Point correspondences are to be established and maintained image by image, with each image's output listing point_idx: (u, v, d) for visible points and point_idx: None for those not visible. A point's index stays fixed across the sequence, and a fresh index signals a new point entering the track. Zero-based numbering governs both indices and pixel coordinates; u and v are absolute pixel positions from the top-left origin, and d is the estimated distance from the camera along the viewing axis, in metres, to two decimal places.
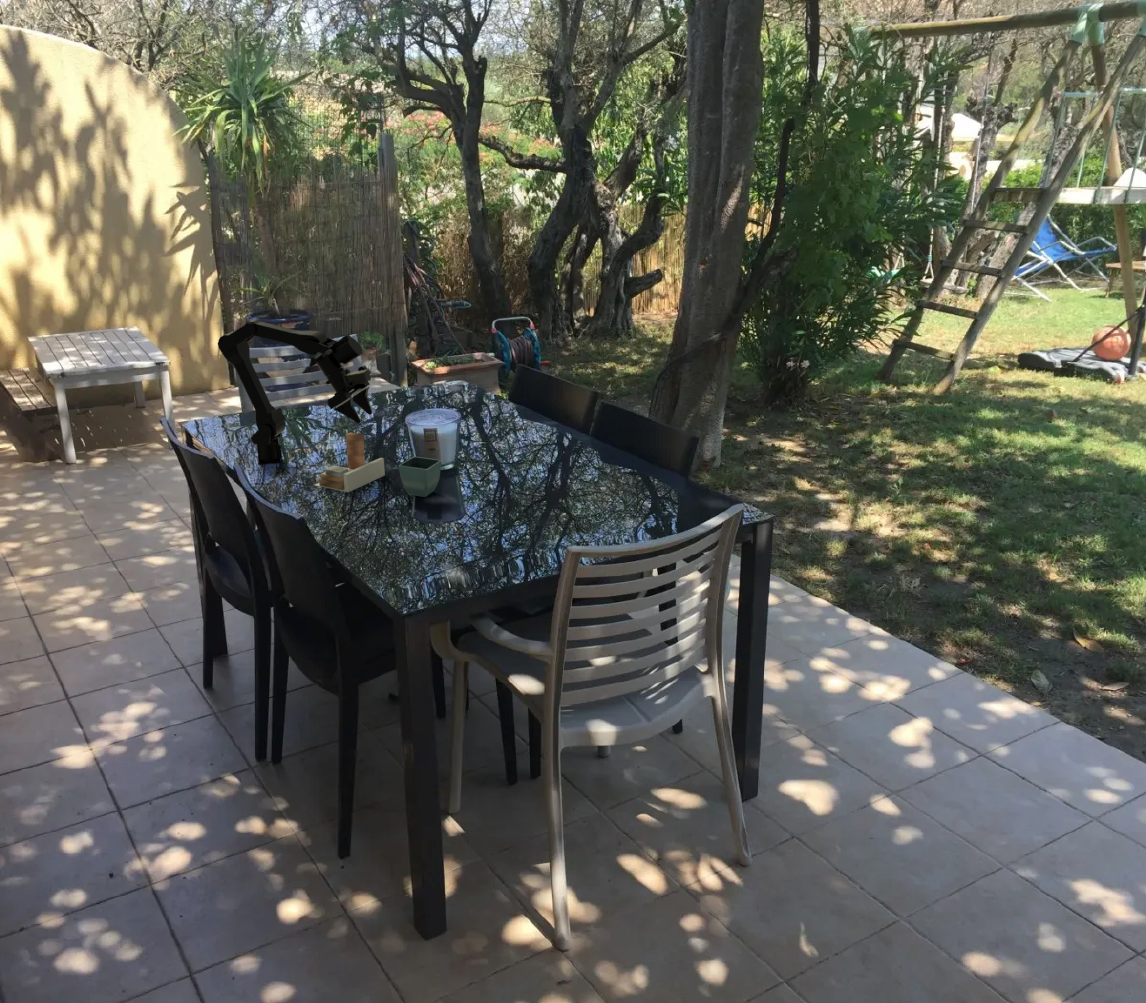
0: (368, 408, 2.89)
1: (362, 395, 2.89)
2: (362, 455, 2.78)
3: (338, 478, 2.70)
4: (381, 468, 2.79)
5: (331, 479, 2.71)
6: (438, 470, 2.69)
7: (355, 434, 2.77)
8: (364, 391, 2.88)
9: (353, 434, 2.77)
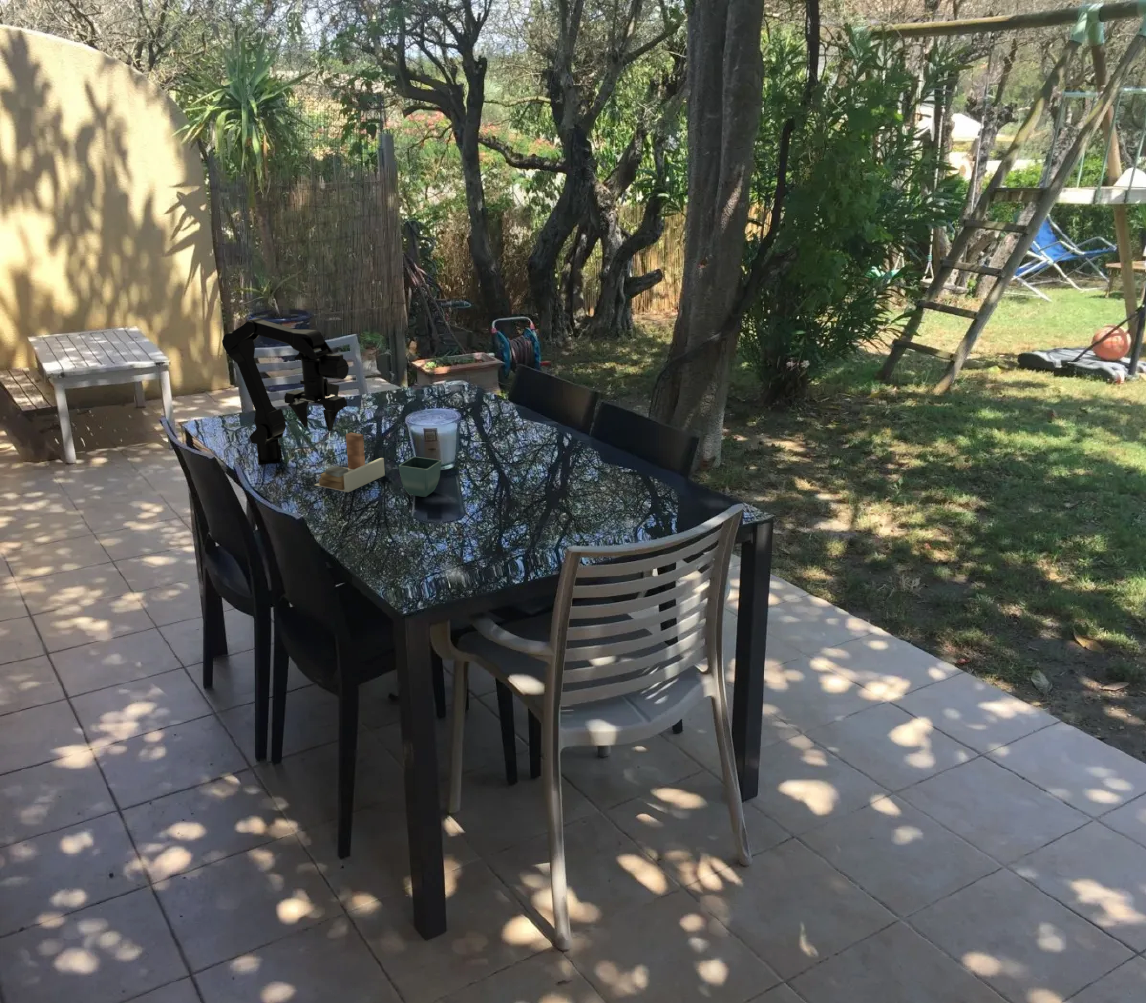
0: (306, 420, 2.87)
1: (304, 406, 2.86)
2: (362, 455, 2.78)
3: (338, 478, 2.70)
4: (381, 468, 2.79)
5: (331, 479, 2.71)
6: (438, 470, 2.69)
7: (355, 434, 2.77)
8: (307, 403, 2.87)
9: (353, 434, 2.77)
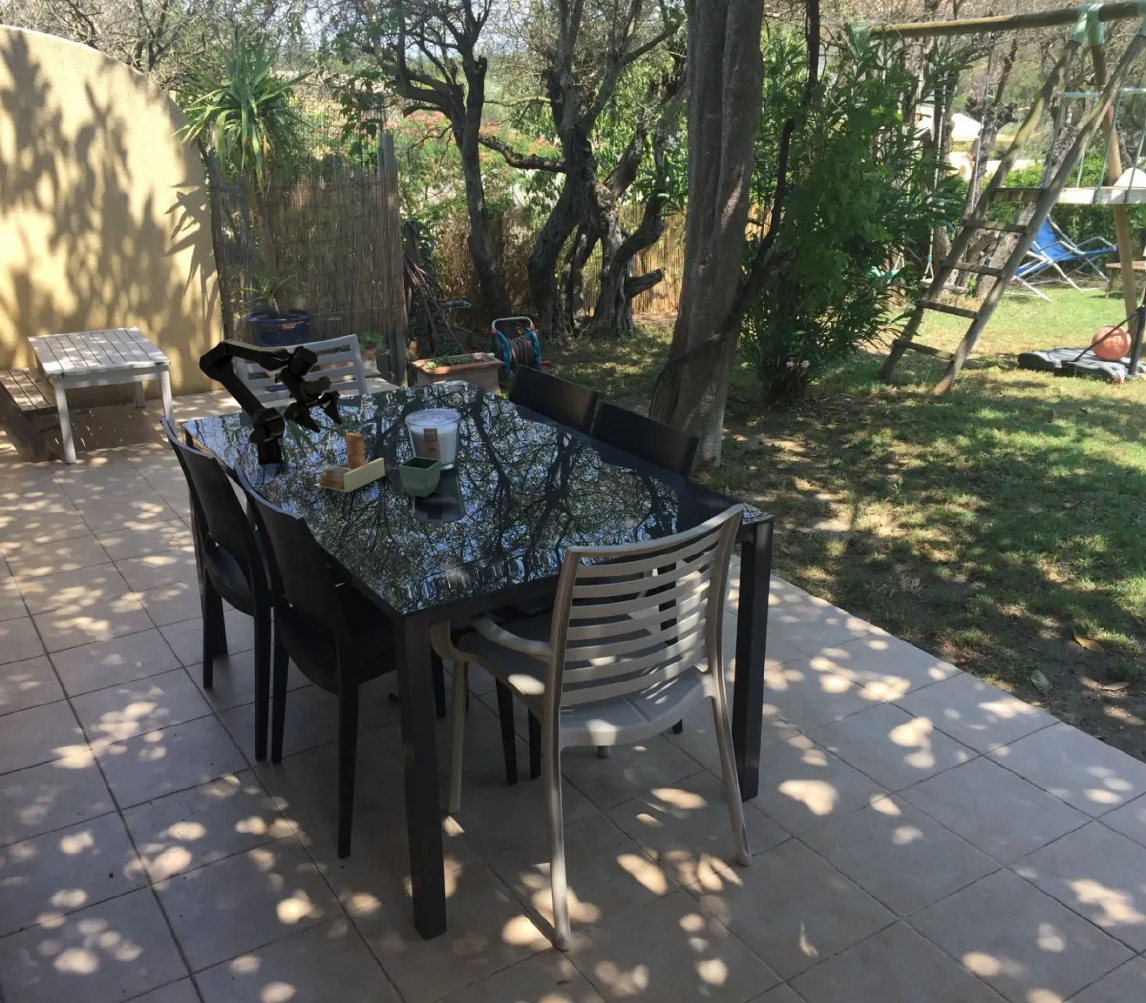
0: (337, 419, 2.84)
1: (331, 406, 2.84)
2: (362, 455, 2.78)
3: (338, 478, 2.70)
4: (381, 468, 2.79)
5: (331, 479, 2.71)
6: (438, 470, 2.69)
7: (355, 434, 2.77)
8: (332, 402, 2.84)
9: (353, 434, 2.77)
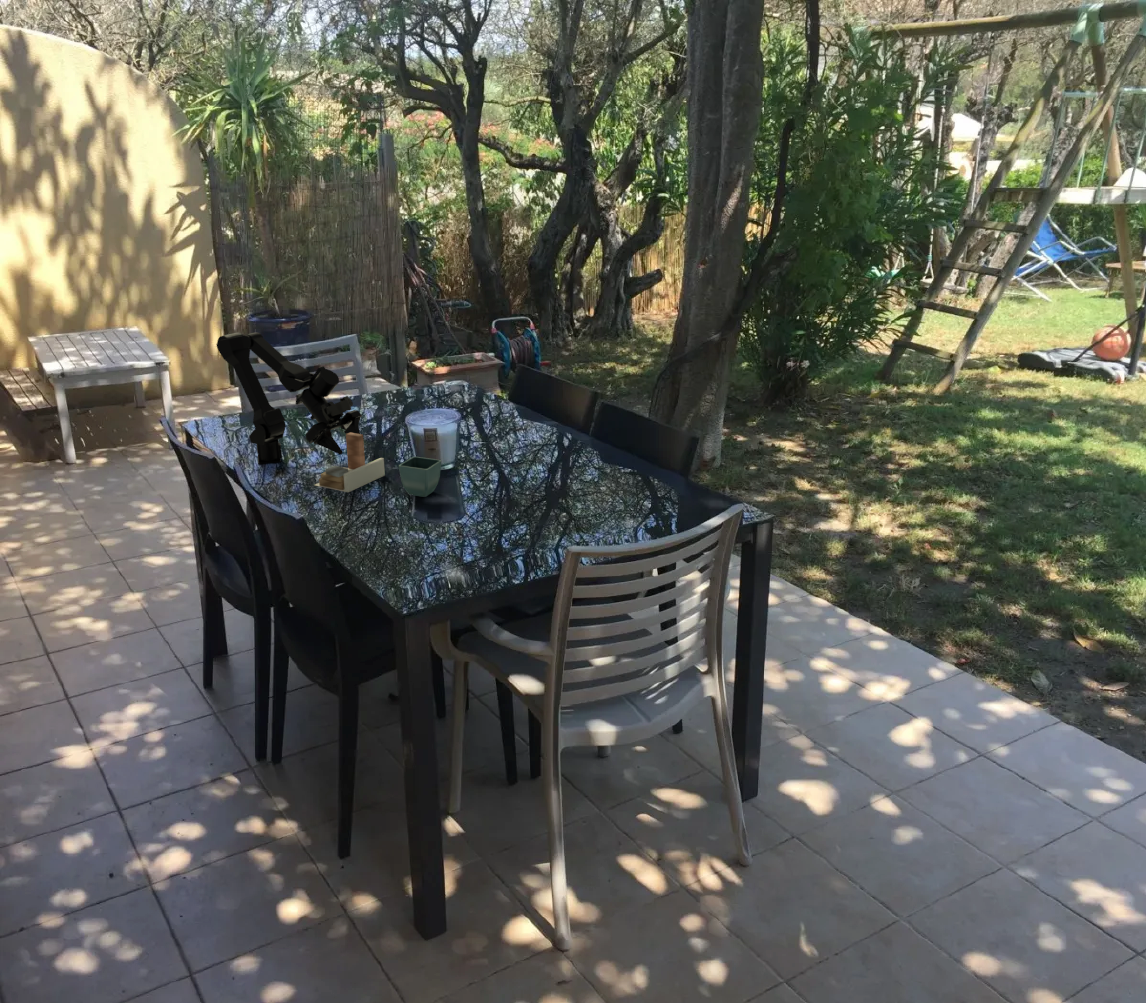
0: None
1: (352, 427, 2.83)
2: (362, 455, 2.78)
3: (338, 478, 2.70)
4: (381, 468, 2.79)
5: (331, 479, 2.71)
6: (438, 470, 2.69)
7: (355, 434, 2.77)
8: (353, 422, 2.83)
9: (353, 434, 2.77)
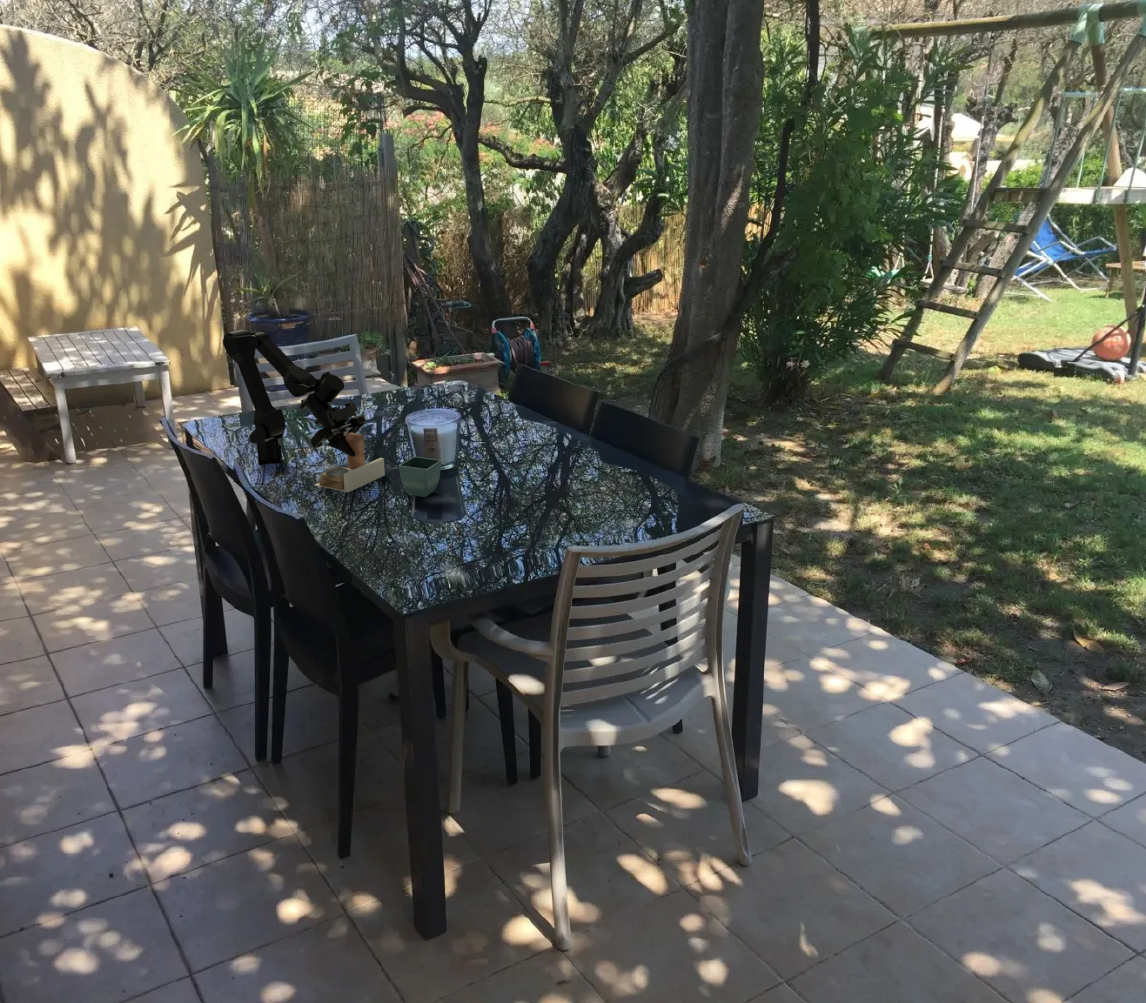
0: None
1: None
2: (362, 455, 2.78)
3: (338, 478, 2.70)
4: (381, 468, 2.79)
5: (331, 479, 2.71)
6: (438, 470, 2.69)
7: (355, 434, 2.77)
8: (350, 431, 2.79)
9: (353, 434, 2.77)
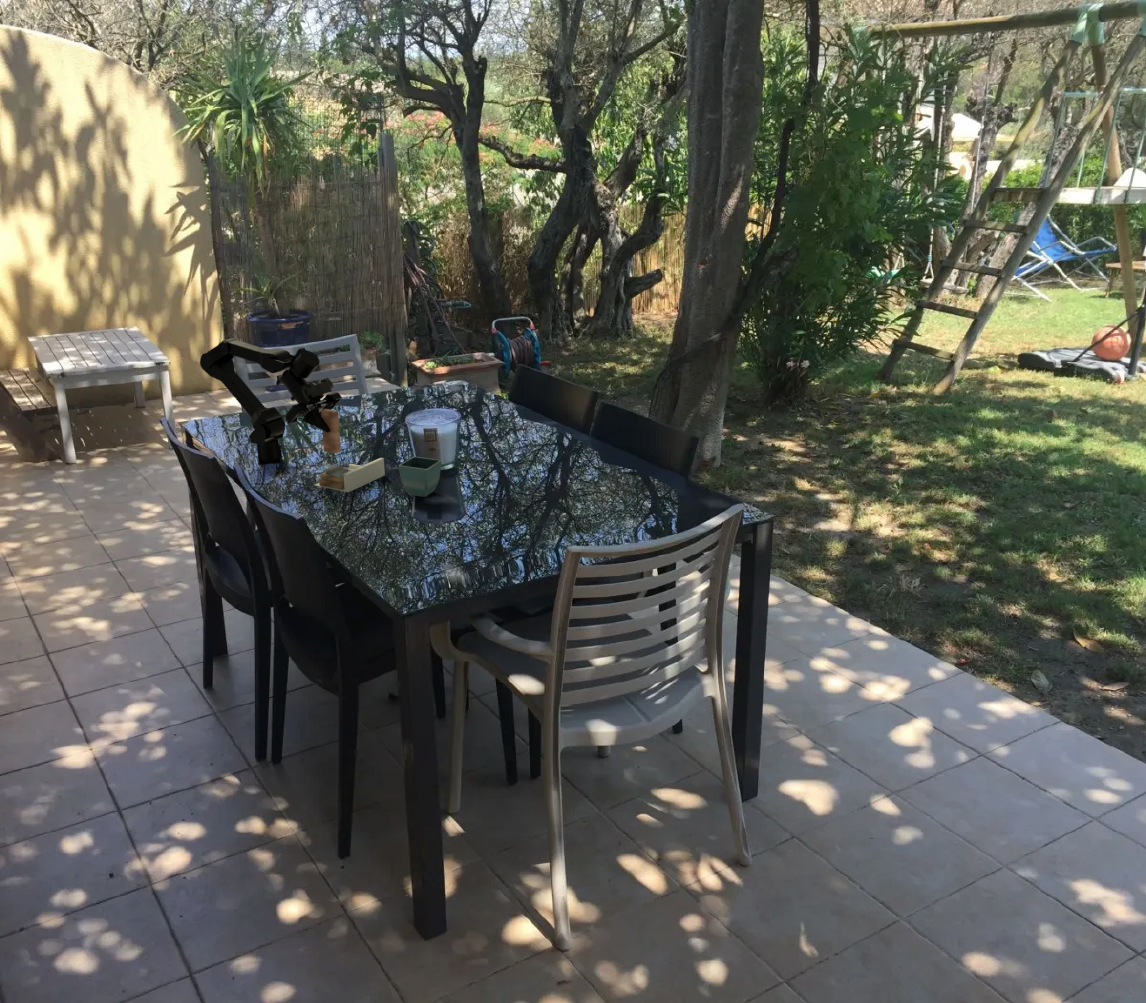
0: None
1: None
2: (337, 432, 2.80)
3: (338, 478, 2.70)
4: (381, 468, 2.79)
5: (331, 479, 2.71)
6: (438, 470, 2.69)
7: (331, 411, 2.78)
8: (325, 407, 2.81)
9: (328, 410, 2.78)
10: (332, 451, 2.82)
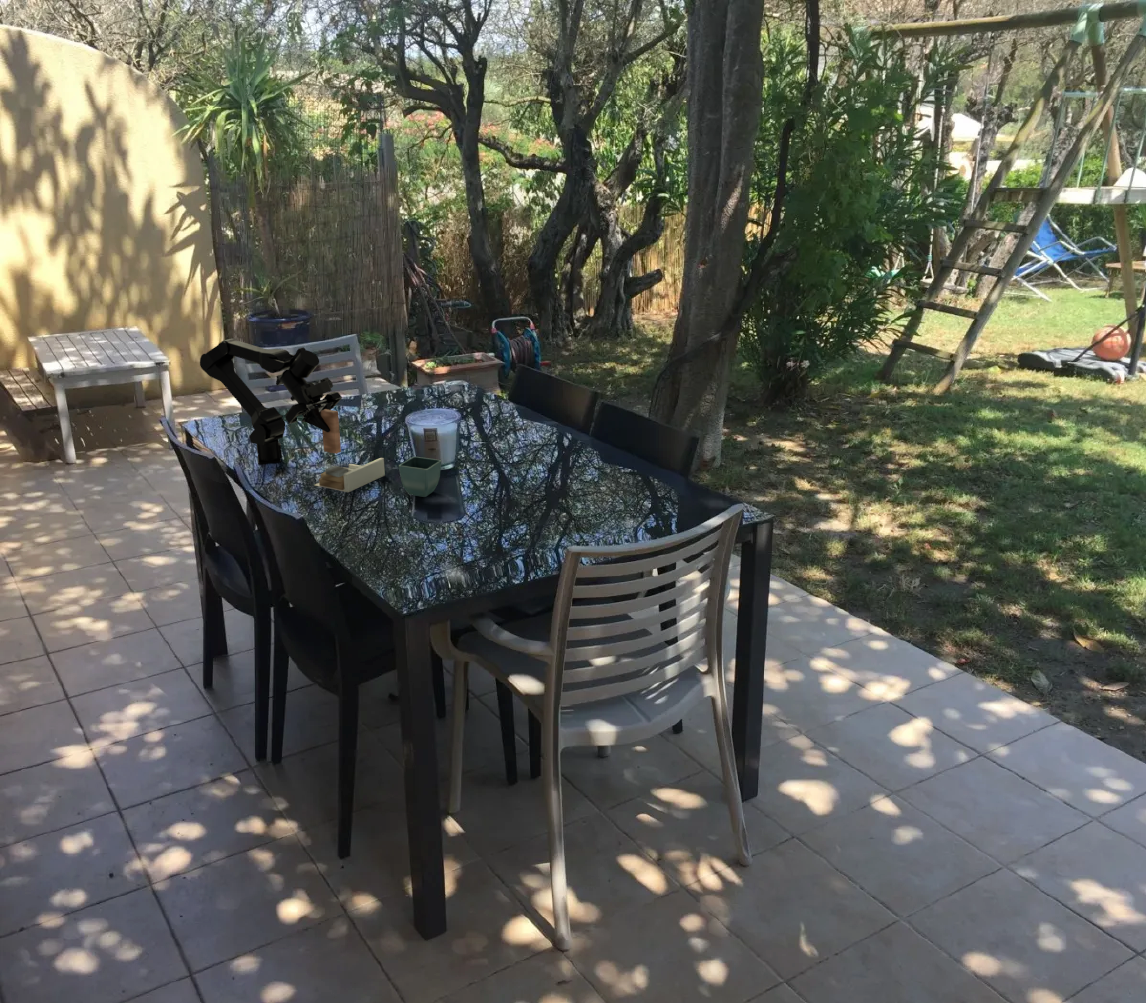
0: None
1: None
2: (337, 432, 2.80)
3: (338, 478, 2.70)
4: (381, 468, 2.79)
5: (331, 479, 2.71)
6: (438, 470, 2.69)
7: (330, 411, 2.78)
8: (325, 407, 2.81)
9: (328, 411, 2.79)
10: (332, 451, 2.82)
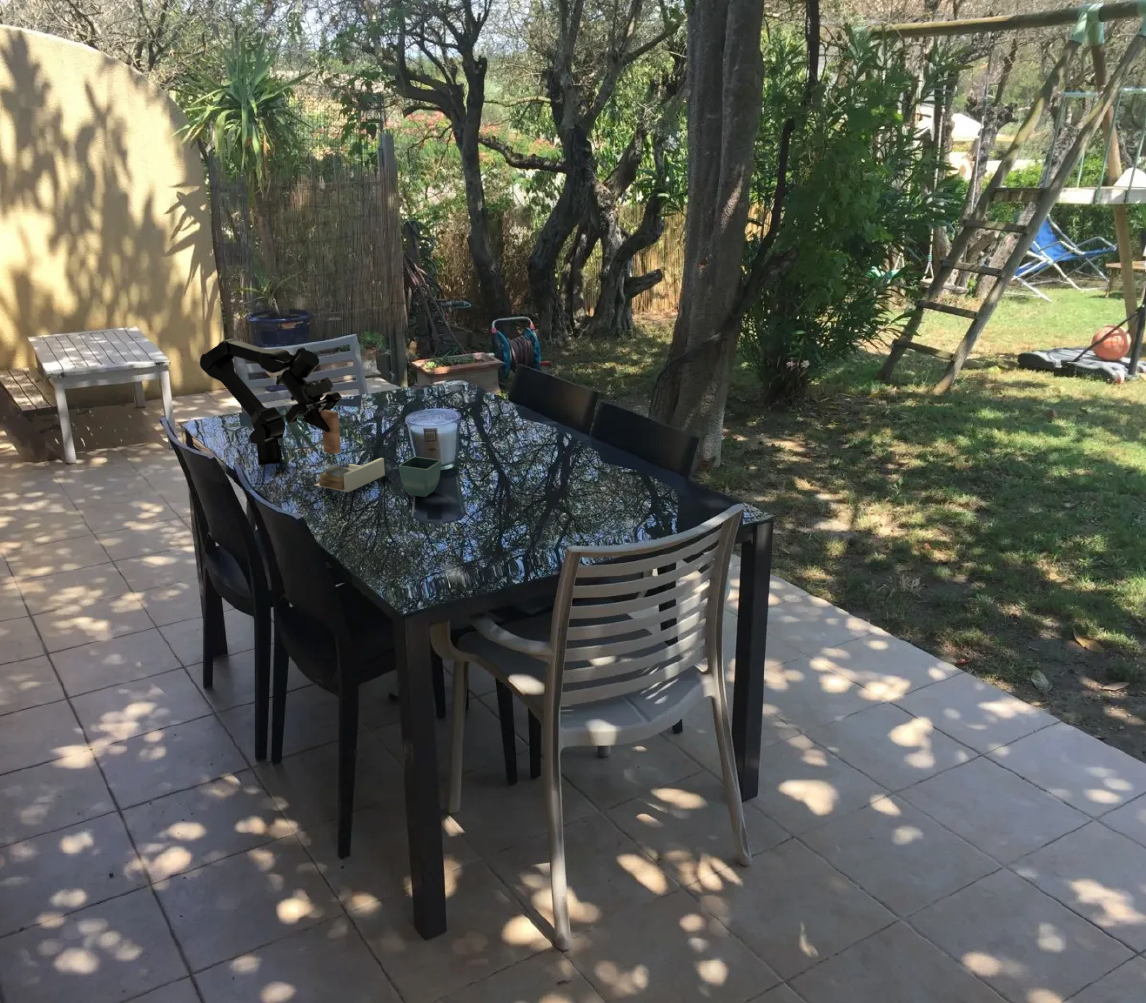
0: None
1: None
2: (336, 432, 2.80)
3: (338, 478, 2.70)
4: (381, 468, 2.79)
5: (331, 479, 2.71)
6: (438, 470, 2.69)
7: (330, 411, 2.78)
8: (325, 407, 2.81)
9: (328, 411, 2.79)
10: (332, 452, 2.82)
